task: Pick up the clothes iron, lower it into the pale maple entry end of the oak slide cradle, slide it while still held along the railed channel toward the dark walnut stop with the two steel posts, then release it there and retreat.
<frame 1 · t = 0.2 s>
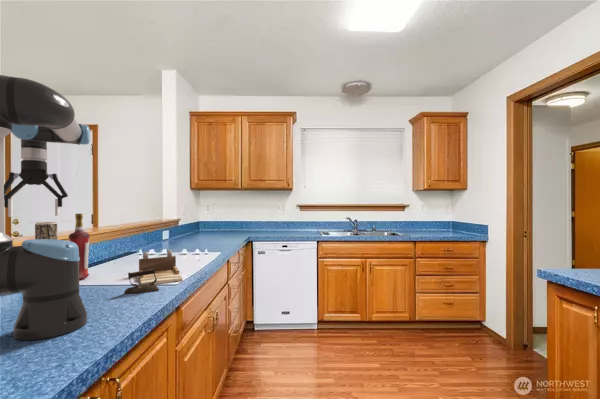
hand: (34, 216, 117), 28 cm above the countertop, fingers open, 13 cm apart
liquor: (79, 279, 131), on the countertop
paper tube: (46, 286, 121), on the countertop
cradle: (159, 277, 133), on the countertop
clothes iron: (141, 291, 114), on the countertop
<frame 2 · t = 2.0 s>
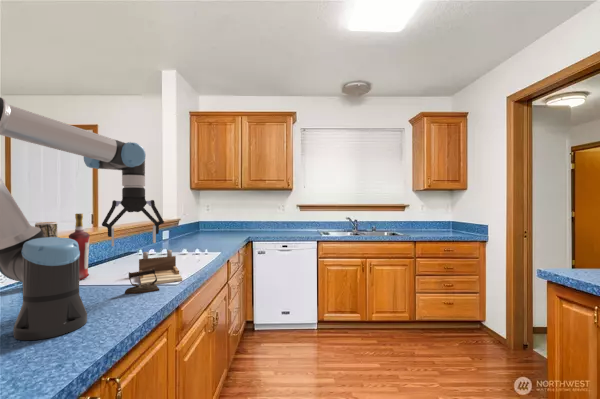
hand: (134, 244, 114), 17 cm above the countertop, fingers open, 13 cm apart
nothing on the countertop moved.
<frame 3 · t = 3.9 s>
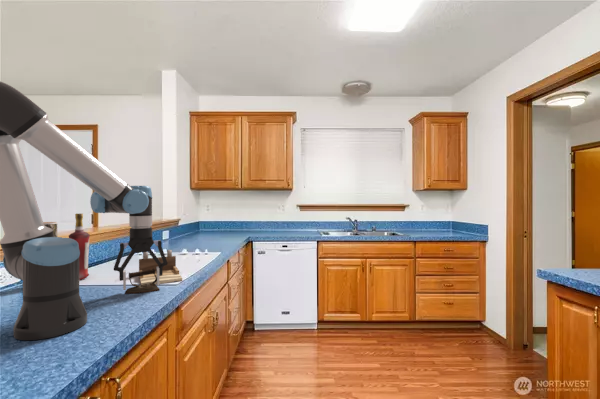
hand: (141, 286, 114), 1 cm above the countertop, fingers closed on clothes iron, 10 cm apart
clothes iron: (141, 291, 114), on the countertop, touching gripper
everything else where it was.
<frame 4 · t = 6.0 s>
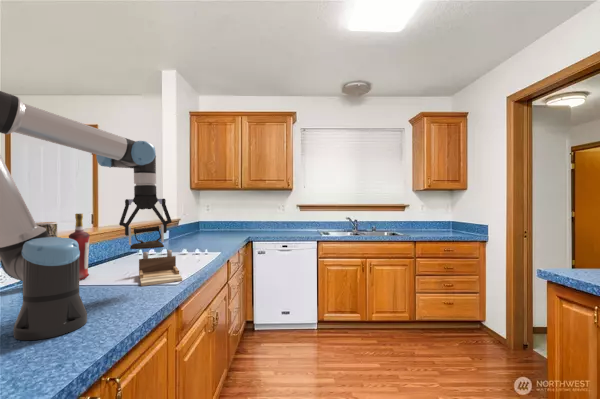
hand: (146, 243, 117), 17 cm above the countertop, fingers closed on clothes iron, 10 cm apart
clothes iron: (146, 248, 116), point 15 cm above the countertop, touching gripper
everything else where it was.
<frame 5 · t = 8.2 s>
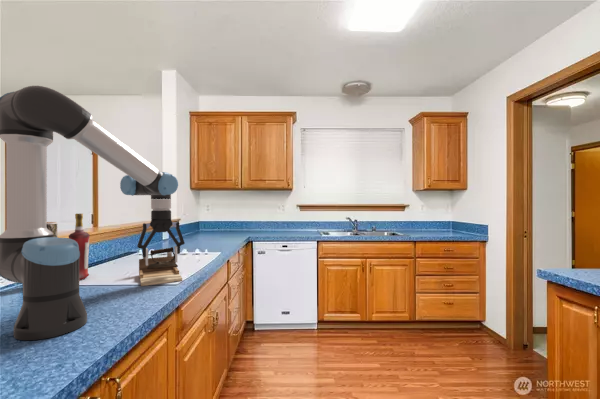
hand: (161, 263, 127), 8 cm above the countertop, fingers closed on clothes iron, 10 cm apart
clothes iron: (161, 267, 126), point 6 cm above the countertop, touching gripper
everything else where it was.
when the fingers open (4 cm above the countertop, at t = 11.6 s): clothes iron drops 1 cm, resting on cradle.
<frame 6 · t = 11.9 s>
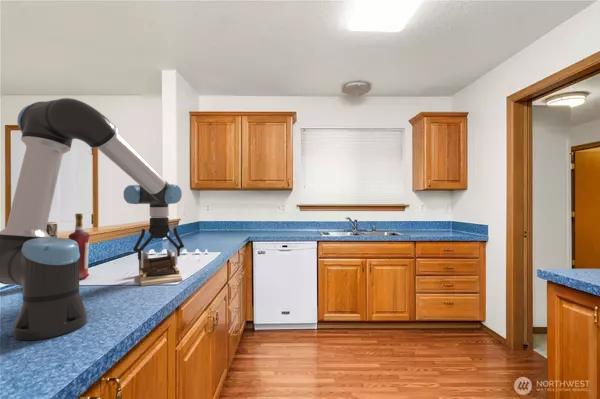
hand: (159, 265, 134), 5 cm above the countertop, fingers open, 13 cm apart
clothes iron: (159, 275, 134), point 1 cm above the countertop, touching cradle
everything else where it was.
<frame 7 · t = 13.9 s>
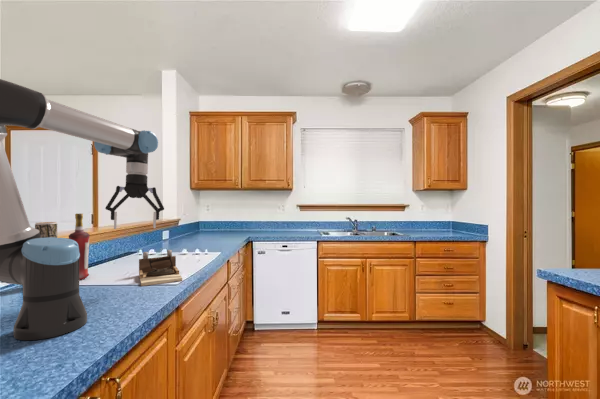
hand: (135, 228, 120), 23 cm above the countertop, fingers open, 13 cm apart
nothing on the countertop moved.
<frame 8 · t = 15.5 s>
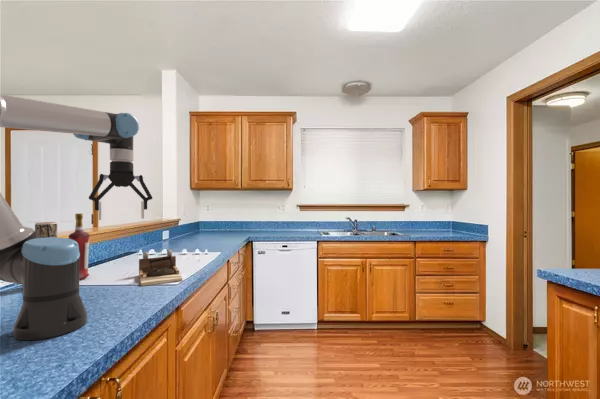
hand: (122, 219, 113), 27 cm above the countertop, fingers open, 13 cm apart
nothing on the countertop moved.
at the end: clothes iron inside the target area (1.7 cm from its centre), point 1.0 cm above the countertop; clothes iron tilted 1°; the gripper is holding nothing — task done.
